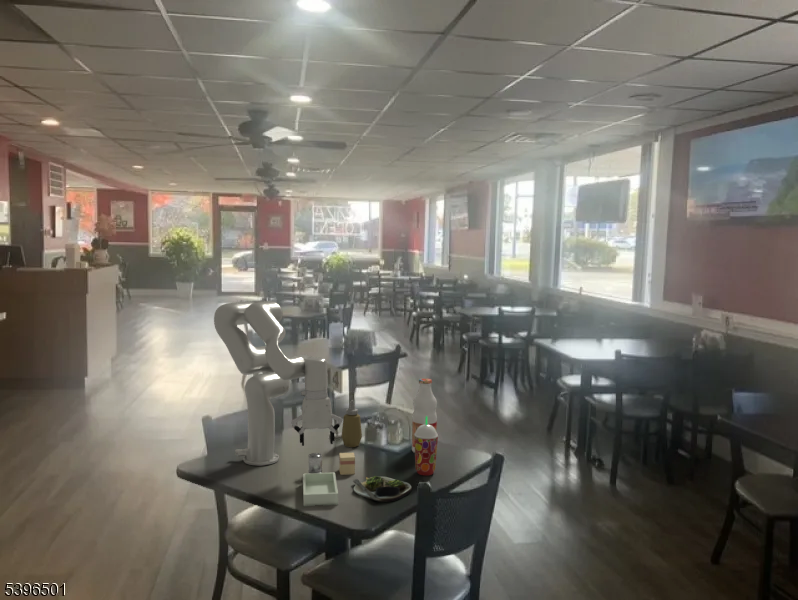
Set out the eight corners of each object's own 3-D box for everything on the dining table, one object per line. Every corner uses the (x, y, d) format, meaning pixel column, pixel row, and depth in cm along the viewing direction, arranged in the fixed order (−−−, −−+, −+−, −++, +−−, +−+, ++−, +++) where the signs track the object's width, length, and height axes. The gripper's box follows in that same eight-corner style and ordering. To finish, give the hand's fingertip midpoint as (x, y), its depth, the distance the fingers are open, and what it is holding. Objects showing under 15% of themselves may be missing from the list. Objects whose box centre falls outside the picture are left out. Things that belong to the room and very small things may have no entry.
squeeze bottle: (353, 440, 259) (353, 396, 257) (366, 445, 253) (366, 400, 251) (337, 444, 254) (337, 400, 252) (349, 450, 248) (350, 404, 246)
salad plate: (336, 492, 207) (336, 478, 206) (372, 476, 221) (372, 463, 220) (383, 508, 195) (383, 493, 194) (418, 490, 209) (418, 477, 208)
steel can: (308, 477, 218) (308, 457, 217) (308, 472, 222) (308, 453, 222) (322, 477, 218) (322, 457, 218) (321, 472, 223) (322, 452, 223)
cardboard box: (340, 474, 221) (340, 457, 221) (339, 469, 226) (339, 453, 226) (354, 474, 222) (355, 457, 222) (353, 469, 227) (353, 452, 226)
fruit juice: (407, 449, 250) (408, 378, 247) (428, 446, 254) (430, 376, 251) (419, 456, 241) (420, 383, 239) (440, 453, 246) (442, 381, 243)
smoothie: (424, 467, 230) (426, 412, 228) (442, 473, 224) (443, 417, 223) (408, 472, 224) (409, 416, 223) (425, 479, 219) (427, 421, 217)
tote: (303, 506, 194) (303, 494, 194) (303, 484, 212) (303, 473, 212) (338, 504, 196) (338, 493, 196) (334, 482, 214) (334, 472, 213)
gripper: (290, 397, 213) (291, 448, 214) (342, 395, 215) (343, 445, 217) (290, 393, 220) (291, 442, 221) (341, 390, 223) (342, 439, 224)
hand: (317, 443), depth 219 cm, fingers open, 9 cm apart
